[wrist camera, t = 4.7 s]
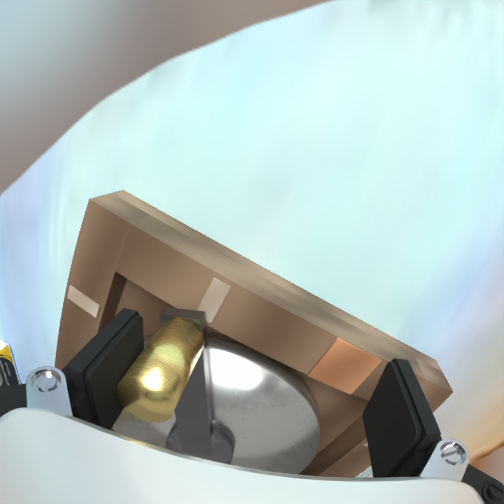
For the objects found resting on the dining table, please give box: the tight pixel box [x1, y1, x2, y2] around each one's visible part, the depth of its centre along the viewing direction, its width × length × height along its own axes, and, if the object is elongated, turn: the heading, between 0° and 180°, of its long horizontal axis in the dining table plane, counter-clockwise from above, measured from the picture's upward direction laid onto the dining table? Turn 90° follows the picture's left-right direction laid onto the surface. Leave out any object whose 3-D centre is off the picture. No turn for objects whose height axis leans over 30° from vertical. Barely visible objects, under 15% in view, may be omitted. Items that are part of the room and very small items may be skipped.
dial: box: [113, 307, 320, 474], centre depth 14 cm, size 16×14×7 cm
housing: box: [55, 190, 453, 478], centre depth 18 cm, size 21×21×3 cm
